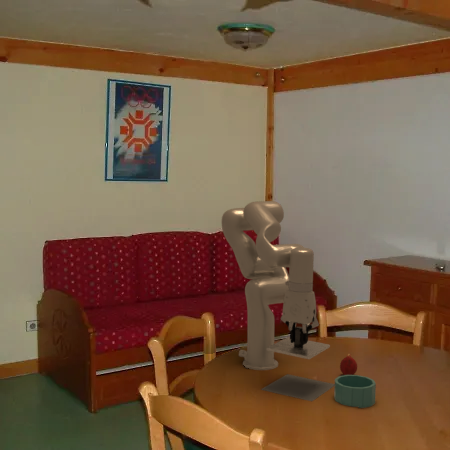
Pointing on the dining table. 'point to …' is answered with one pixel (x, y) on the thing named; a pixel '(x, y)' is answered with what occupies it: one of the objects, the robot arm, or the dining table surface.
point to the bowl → (355, 391)
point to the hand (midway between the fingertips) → (298, 342)
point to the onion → (348, 365)
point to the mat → (299, 387)
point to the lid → (298, 346)
